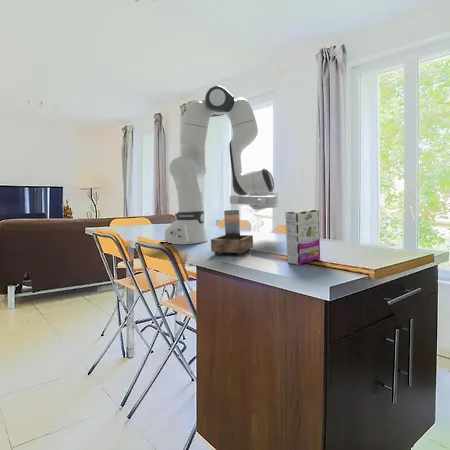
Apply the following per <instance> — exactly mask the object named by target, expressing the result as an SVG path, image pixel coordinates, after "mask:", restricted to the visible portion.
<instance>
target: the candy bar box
mask: <svg viewBox="0 0 450 450" xmlns="http://www.w3.org/2000/svg"><path fill="white" fill-rule="evenodd" d="M319 213H320V210H319V209H314V208H313V209H311V208H309V209H307V208H306V209H301V210H294V211H293V210H291V211H286V212H285V230H286V232H285V233H286V255H287V257H286V258H287V259H286V260H287V264H289V265H296V266H302V265H304V264H309V263H311V261H312V262H314V261H313V260H316V259H319V260H320V259H321V247H320V245H321V244H320V243H321V242H320V241H321V239H320V237H321V236H320V214H319ZM316 261H317V260H316Z"/></svg>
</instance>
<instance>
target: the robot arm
mask: <svg viewBox="0 0 450 450" xmlns="http://www.w3.org/2000/svg"><path fill="white" fill-rule="evenodd" d="M204 98H205V99H204V100H203V99H202V100H199V99H198V100H197V99H196V100H192V101H190V102H189V103H188V105H187V107H186V111H185V114H184V119H183V122H182V123H183V125H182V130H181V137H180V143H181V146H182V156H178V157H176V158H174V159H172V160H171V162H170V164H169V168H168V169H169V174H170V175H171V176H172V178H173V182H174V185H175V189H176V192H177V201H178V202H177V203H178V212H177V213H174V214H173V215H174V216H173V217H175V221H172V223H171V224H170V225H169V226H167V228H165V231H164V238H162V239H160V240H161V241H166V242H169V243H172V244H171V245H183V246H184V245H189V244H190V245H191V244H199V243H205V242H208V237H207V233H206V228H205V212H204V209H203V207H204V206H203V194H202V191H201V189H200V185H199V181H200V180H201V179H203V178H204V177H205V175H206V173H207V167H206V153H205V152H206V142H207V134H208V128H209V122H210V120H211V119H210V118H214V117H220V116H224V115H226V116H227V118H228V119H229V121H230V124H231V129H232V137H231V140H230V141H229V145H228V147H229V159H230V168H231V176H232V189H233V192H234V193H235V194H234V195H230V196H229V204H231V205H248V206H249V207H250V208H252V209H253V210H256V211H258V210H264V209H269V208H272V209H273V208H277V207H278V201H279V198H278V192H274V189H275V182H274V178H273V175H272V173H271V172H270V171H269V170H268V169H266V168H264V167H262V168H259V169H255V170H254V169H253V170H252V171H249V172H246V173H243V170H242V169H243V168H242V159H241V155H242V152H243V151H244V150H245V149H246V148H247V147H248V146H249V145H251V144H252V143H253V142H254V141H255V140H256V138H257V136H258V132H259V129H258V123H257V120H256V117H255V113H254V110H253V108H252V106H251V104H250V102H249V101H248V100H247V99H246V98H243V97H238V98H236V99H235V97H234V95H233V94H231V92H229V91H228V89H226V88H225V87H223V86H221V85H214V86H213V87H210V88H209V89H207V91H206V93H205V97H204Z"/></svg>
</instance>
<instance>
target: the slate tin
mask: <svg viewBox="0 0 450 450" xmlns="http://www.w3.org/2000/svg"><path fill="white" fill-rule="evenodd" d="M223 214H224V215H223V216H224V218H223V220H224V235H225V238H226V239H230V240H240V235H241V225H240V224H241V223H240V222H241V221H240V210H239V209H228V210H224V211H223Z"/></svg>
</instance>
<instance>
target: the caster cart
mask: <svg viewBox="0 0 450 450" xmlns="http://www.w3.org/2000/svg"><path fill="white" fill-rule="evenodd" d="M253 248H254V238H253V235H252V234H251V235H250V234H247V235H246V234H240V240H230V239H226V238H225V234H222V235H220V236H217V237H214V238H211V239H210V249H211V251H210V252H212V253H214V255H215V256H219V255H220V253H233V254H234V253H236V254H237V257H241V256H243V253H245V252H247V253H248V252H250V251H252V250H251V249H253Z"/></svg>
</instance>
